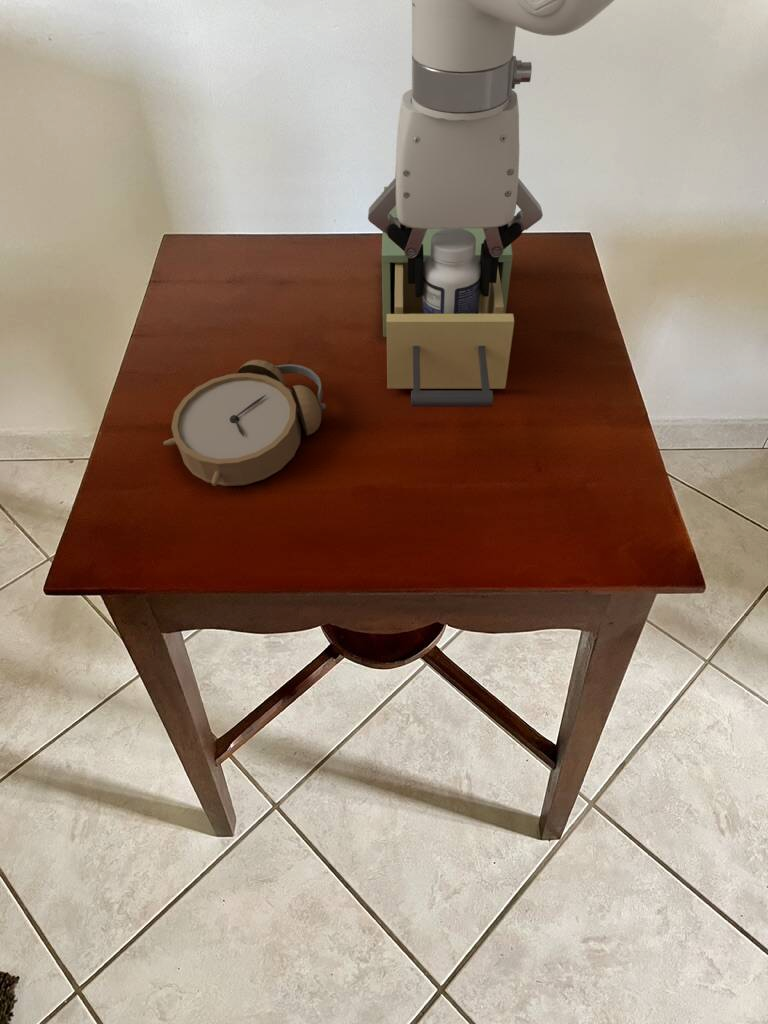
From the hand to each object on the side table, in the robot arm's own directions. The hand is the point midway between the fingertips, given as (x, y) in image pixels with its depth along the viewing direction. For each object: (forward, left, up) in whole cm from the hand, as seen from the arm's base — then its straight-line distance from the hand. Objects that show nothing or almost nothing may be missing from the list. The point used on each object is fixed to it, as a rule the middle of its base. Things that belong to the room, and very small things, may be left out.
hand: (451, 286), depth 72 cm
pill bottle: (0, 0, -5) cm, 5 cm away
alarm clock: (+18, +11, -9) cm, 23 cm away
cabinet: (0, -11, -9) cm, 14 cm away
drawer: (0, +3, -8) cm, 8 cm away
